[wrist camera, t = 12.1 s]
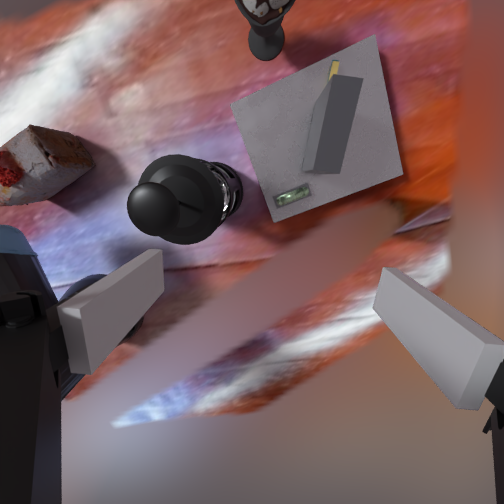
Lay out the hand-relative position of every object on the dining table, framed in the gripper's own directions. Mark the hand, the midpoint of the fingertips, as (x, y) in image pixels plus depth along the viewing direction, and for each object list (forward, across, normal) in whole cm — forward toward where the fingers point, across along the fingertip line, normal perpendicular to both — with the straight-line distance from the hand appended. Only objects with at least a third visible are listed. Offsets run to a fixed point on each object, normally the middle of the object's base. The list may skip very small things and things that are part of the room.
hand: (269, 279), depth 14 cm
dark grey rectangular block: (+24, -7, -14) cm, 28 cm away
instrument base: (+27, -7, -11) cm, 30 cm away
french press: (+28, +9, -3) cm, 29 cm away
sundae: (+28, +2, -24) cm, 37 cm away
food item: (+28, +36, -5) cm, 46 cm away
